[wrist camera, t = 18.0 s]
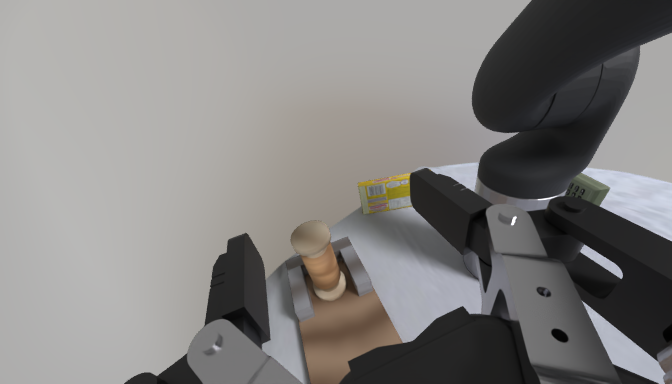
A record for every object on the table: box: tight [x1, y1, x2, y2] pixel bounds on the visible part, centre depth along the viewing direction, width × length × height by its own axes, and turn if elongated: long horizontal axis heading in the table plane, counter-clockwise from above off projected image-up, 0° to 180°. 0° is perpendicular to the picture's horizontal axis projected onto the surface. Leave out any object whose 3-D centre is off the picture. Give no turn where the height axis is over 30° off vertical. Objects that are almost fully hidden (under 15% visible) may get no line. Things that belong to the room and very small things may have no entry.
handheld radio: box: [564, 173, 610, 206], centre depth 52 cm, size 7×3×25 cm
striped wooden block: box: [286, 237, 403, 384], centre depth 34 cm, size 28×13×4 cm, turn 19°
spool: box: [291, 221, 347, 302], centre depth 37 cm, size 6×6×13 cm
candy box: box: [358, 169, 430, 214], centre depth 54 cm, size 16×2×8 cm, turn 92°
